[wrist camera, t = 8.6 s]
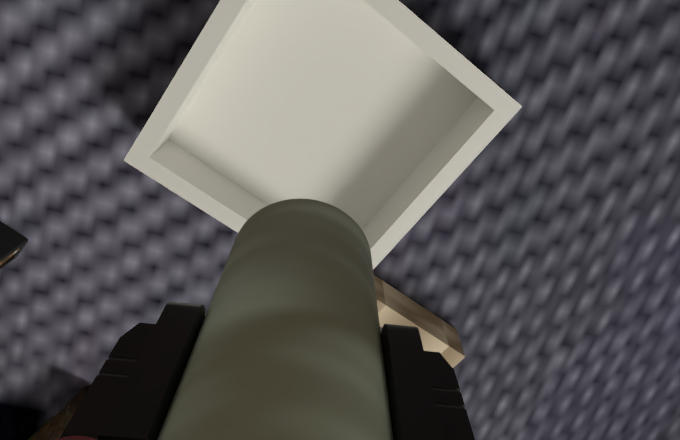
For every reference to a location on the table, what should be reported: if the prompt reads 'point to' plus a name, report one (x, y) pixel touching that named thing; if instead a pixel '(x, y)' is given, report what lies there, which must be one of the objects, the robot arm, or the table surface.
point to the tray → (320, 114)
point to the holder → (418, 322)
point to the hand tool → (60, 419)
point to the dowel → (288, 336)
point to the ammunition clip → (10, 244)
